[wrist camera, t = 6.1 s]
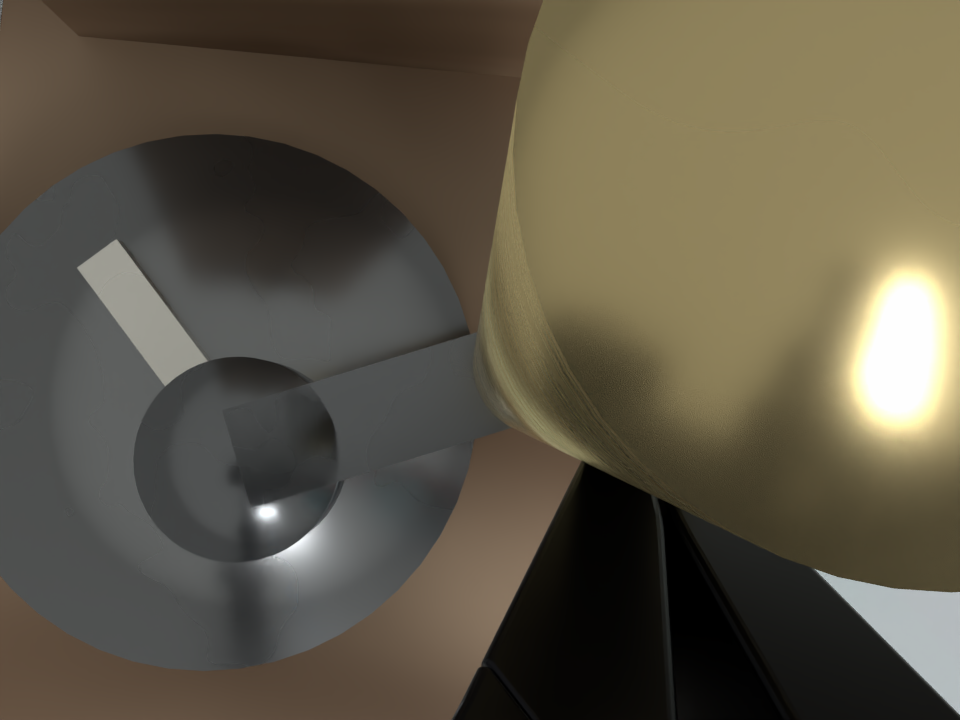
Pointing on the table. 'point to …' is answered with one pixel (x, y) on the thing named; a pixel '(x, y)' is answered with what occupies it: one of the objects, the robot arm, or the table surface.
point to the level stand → (401, 180)
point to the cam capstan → (499, 331)
